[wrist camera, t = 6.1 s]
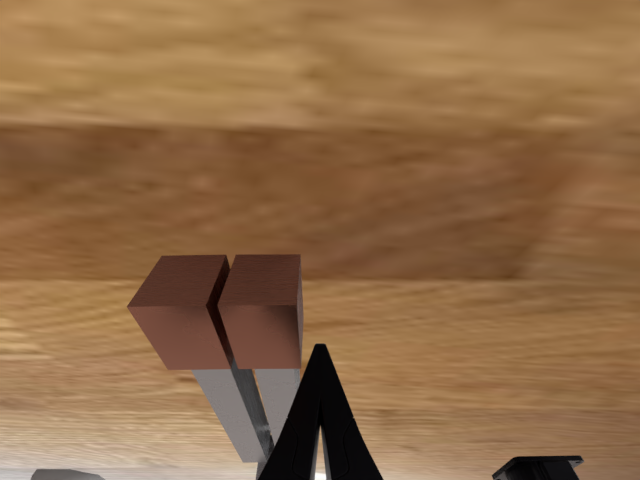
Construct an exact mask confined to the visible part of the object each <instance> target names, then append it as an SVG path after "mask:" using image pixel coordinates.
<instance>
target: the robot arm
mask: <svg viewBox="0 0 640 480" xmlns="http://www.w3.org/2000/svg"><path fill="white" fill-rule="evenodd" d="M320 426H321V435H322V444H323V454H324V463H325V472H326V480H384V479H383V477H382V476H381V474H380V472H379V470H378V468H377V466H376V464H375V462H374V460H373V458H372V456H371V454H370V452H369V450H368V448H367V446H366V444H365V442H364V440H363V438H362V435H361V433H360V431H359V428H358V426H357V423H356V421H355V418H354V416H353V413H352V411H351V408H350V405H349V403H348V400H347V398H346V395H345V392H344V390H343V387H342V385H341V382H340V379H339V377H338V374H337V372H336V369H335V367H334V364H333V361H332V359H331V356H330V354H329V351H328V348H327V346H326V344H325V343H316V344H315V345H314V348H313V351H312V353H311V356H310V358H309V361H308V364H307V366H306V369H305V371H304V374H303V377H302V379H301V382H300V384H299V387H298V390H297V392H296V395H295V398H294V400H293V403H292V405H291V408H290V411H289V413H288V416H287V418H286V421H285V423H284V426H283V428H282V431H281V433H280V436H279V438H278V440H277V442H276V444H275V446H274V449H273V451H272V453H271V455H270V457H269V458H268V460H267V462H266V464H265V466H264V468H263V470H262V472H261V474H260V476H259V478H258V480H315V471H316V462H317V453H318V443H319V434H320ZM583 462H584V460H583V458H582V457H581V456H580V455H572V456H517V457H513V458H512V459H511V460H509V461H508V462H507V463H506V464H505V465H503V466H502V467H501V468H500V469H499V470H497V471H496V472H495V473H494V474H493V475H492V478H493V480H580V479H579V477H578V476H577V474H576V472H575V470H574V469H573V468H575V467H577V466H578V465H580V464H582V463H583Z"/></svg>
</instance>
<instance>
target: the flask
mask: <svg viewBox="0 0 640 480" xmlns="http://www.w3.org/2000/svg"><path fill="white" fill-rule="evenodd" d="M31 480H105V479H104V478H102V477H101V476H100V475H98V474H92V473H86V472H81V471H76V470H71V469H37V470H36V471H35V472H34V474H33V475H32V477H31Z"/></svg>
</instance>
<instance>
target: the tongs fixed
mask: <svg viewBox="0 0 640 480" xmlns="http://www.w3.org/2000/svg"><path fill="white" fill-rule="evenodd" d="M229 272H230V266H229V262H228V259H227V255H171V256H161V258H160V259H159V260H158V262H157V263H156V265H155V266H154V268H153V269H152V271H151V272H150V274H149V275H148V276H147V278H146V279H145V281H144V282H143V284H142V285H141V287H140V288H139V289H138V291H137V292H136V294H135V295H134V297H133V298H132V300H131V301H130V303H129V304H128V305H127V308H128V310H129V311H130V313H131V314H132V316H133V317H134V319H135V320H136V322H137V323H138V325H139V326H140V328H141V330H142V331H143V333H144V334H145V336H146V337H147V339H148V340H149V342H150V343H151V345H152V346H153V348H154V349H155V351H156V352H157V354H158V355H159V357H160V358H161V360H162V362H163V363H164V365H165V366H166V368H167V369H168V370H191V371H192V373H193V375H194V376H195V378H196V380H197V382H198V383H199V385H200V387H201V389H202V391H203V392H204V394H205V396H206V398H207V399H208V401H209V403H210V405H211V407H212V408H213V410H214V412H215V414H216V415H217V417H218V419H219V421H220V423H221V424H222V426H223V428H224V430H225V432H226V433H227V435H228V437H229V439H230V440H231V442H232V444H233V446H234V448H235V449H236V451H237V453H238V455H239V456H240V458H241V460H242V462H243V463H255V462H267V460H268V452H269V444H270V435H271V431H270V427H269V423H268V420H267V417H266V414H265V410H264V407H263V404H262V401H261V397H260V394H259V391H258V388H257V385H256V381H255V378H254V375H253V372H252V369H238V367H237V364H236V361H235V357H234V354H233V351H232V348H231V345H230V342H229V339H228V336H227V333H226V330H225V327H224V324H223V321H222V318H221V315H220V312H219V309H218V306H217V305H218V302H219V300H220V297H221V294H222V291H223V289H224V286H225V283H226V280H227V278H228V275H229Z"/></svg>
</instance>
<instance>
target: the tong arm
mask: <svg viewBox="0 0 640 480" xmlns="http://www.w3.org/2000/svg"><path fill="white" fill-rule="evenodd" d="M217 306H218V309H219V312H220V315H221V318H222V321H223V324H224V327H225V330H226V333H227V336H228V339H229V342H230V345H231V348H232V351H233V354H234V357H235V361H236V364H237V367H238V369H254V370H255V374H256V377H257V381H258V385H259V389H260V393H261V396H262V400H263V404H264V408H265V412H266V416H267V419H268V423H269V427H270V431H271V435H270V444H269V452H268V458H269V457H270V455H271V453H272V451H273V449H274V446H275V444H276V442H277V440H278V438H279V436H280V433H281V431H282V428H283V426H284V423H285V421H286V418H287V416H288V413H289V411H290V408H291V405H292V403H293V400H294V398H295V395H296V392H297V390H298V387H299V384H300V371H299V369H301V361H302V340H303V319H304V316H303V295H302V275H301V254H242V255H235V258H234V261H233V264H232V267H231V269H230V272H229V275H228V278H227V280H226V283H225V286H224V289H223V291H222V294H221V297H220V300H219V302H218V305H217ZM265 464H266V462H258V465H257V472H256V480H258V478H259V476H260V474H261V472H262V470H263V468H264V466H265Z"/></svg>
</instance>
